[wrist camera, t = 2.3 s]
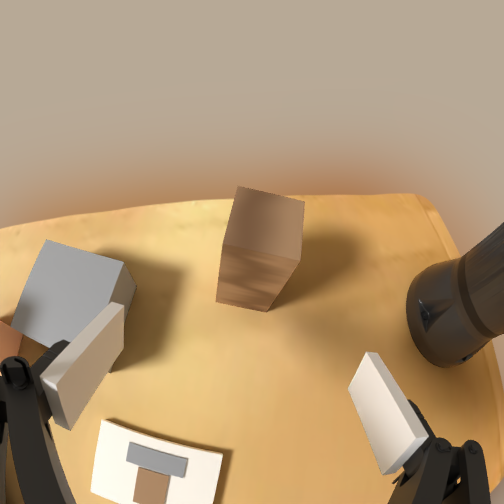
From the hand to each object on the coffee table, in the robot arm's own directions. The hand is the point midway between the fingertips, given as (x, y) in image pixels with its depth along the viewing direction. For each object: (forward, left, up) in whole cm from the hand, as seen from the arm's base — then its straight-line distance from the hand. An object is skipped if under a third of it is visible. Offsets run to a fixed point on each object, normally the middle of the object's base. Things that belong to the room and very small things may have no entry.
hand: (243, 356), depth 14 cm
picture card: (-3, +13, -14) cm, 19 cm away
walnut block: (+5, -9, -14) cm, 18 cm away
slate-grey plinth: (+15, +7, -14) cm, 22 cm away
